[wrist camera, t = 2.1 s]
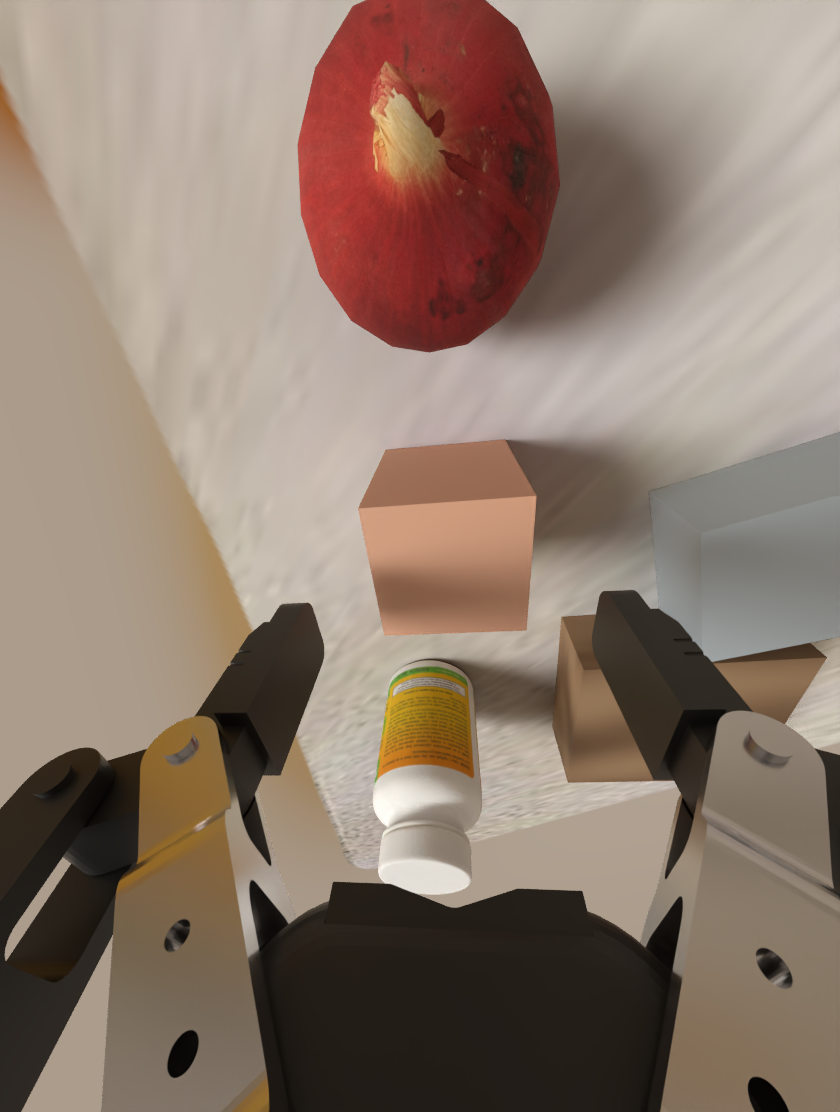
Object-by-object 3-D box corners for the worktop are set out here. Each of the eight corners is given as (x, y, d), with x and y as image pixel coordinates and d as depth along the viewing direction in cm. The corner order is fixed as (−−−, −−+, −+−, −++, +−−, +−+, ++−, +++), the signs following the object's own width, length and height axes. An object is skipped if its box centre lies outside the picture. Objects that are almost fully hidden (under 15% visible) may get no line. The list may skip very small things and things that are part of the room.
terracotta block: (386, 449, 15) (358, 508, 10) (504, 439, 15) (536, 495, 10) (400, 549, 18) (384, 635, 13) (502, 543, 18) (526, 630, 12)
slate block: (646, 489, 16) (701, 533, 13) (838, 429, 14) (960, 461, 11) (656, 605, 19) (702, 663, 16) (812, 567, 18) (900, 625, 14)
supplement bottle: (375, 669, 23) (336, 860, 15) (455, 648, 21) (462, 846, 13) (410, 718, 25) (394, 904, 17) (483, 702, 24) (505, 896, 16)
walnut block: (559, 612, 20) (583, 670, 17) (757, 598, 19) (826, 657, 15) (551, 721, 25) (568, 782, 22) (706, 716, 24) (749, 779, 21)
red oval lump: (547, 127, 10) (749, -266, 3) (498, 357, 13) (555, 384, 7) (343, 94, 10) (143, -377, 3) (341, 333, 13) (235, 338, 6)
